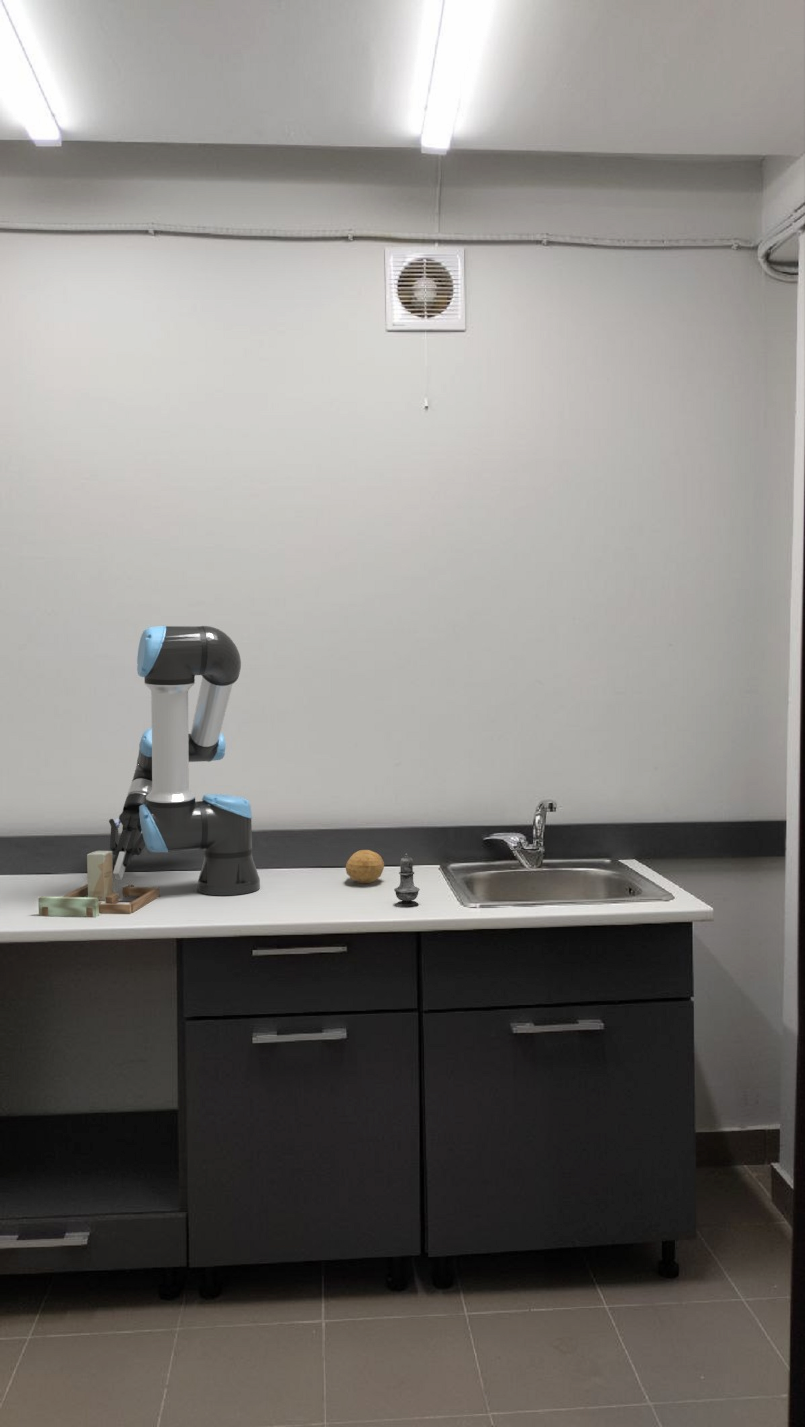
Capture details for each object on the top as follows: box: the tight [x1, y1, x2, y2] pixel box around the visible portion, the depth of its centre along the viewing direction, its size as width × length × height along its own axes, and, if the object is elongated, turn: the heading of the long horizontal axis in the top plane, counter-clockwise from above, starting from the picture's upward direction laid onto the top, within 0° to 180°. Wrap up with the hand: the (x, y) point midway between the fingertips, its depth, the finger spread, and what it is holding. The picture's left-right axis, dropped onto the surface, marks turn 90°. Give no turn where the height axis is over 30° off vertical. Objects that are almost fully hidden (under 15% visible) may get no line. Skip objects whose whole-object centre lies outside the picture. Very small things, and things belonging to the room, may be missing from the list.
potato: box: [345, 849, 385, 884], centre depth 278 cm, size 10×14×8 cm
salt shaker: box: [393, 852, 421, 908], centre depth 254 cm, size 6×6×12 cm
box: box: [86, 850, 114, 901], centre depth 264 cm, size 5×4×11 cm
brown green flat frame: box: [37, 883, 160, 918], centre depth 258 cm, size 20×24×4 cm
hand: (117, 876), depth 275 cm, fingers closed
